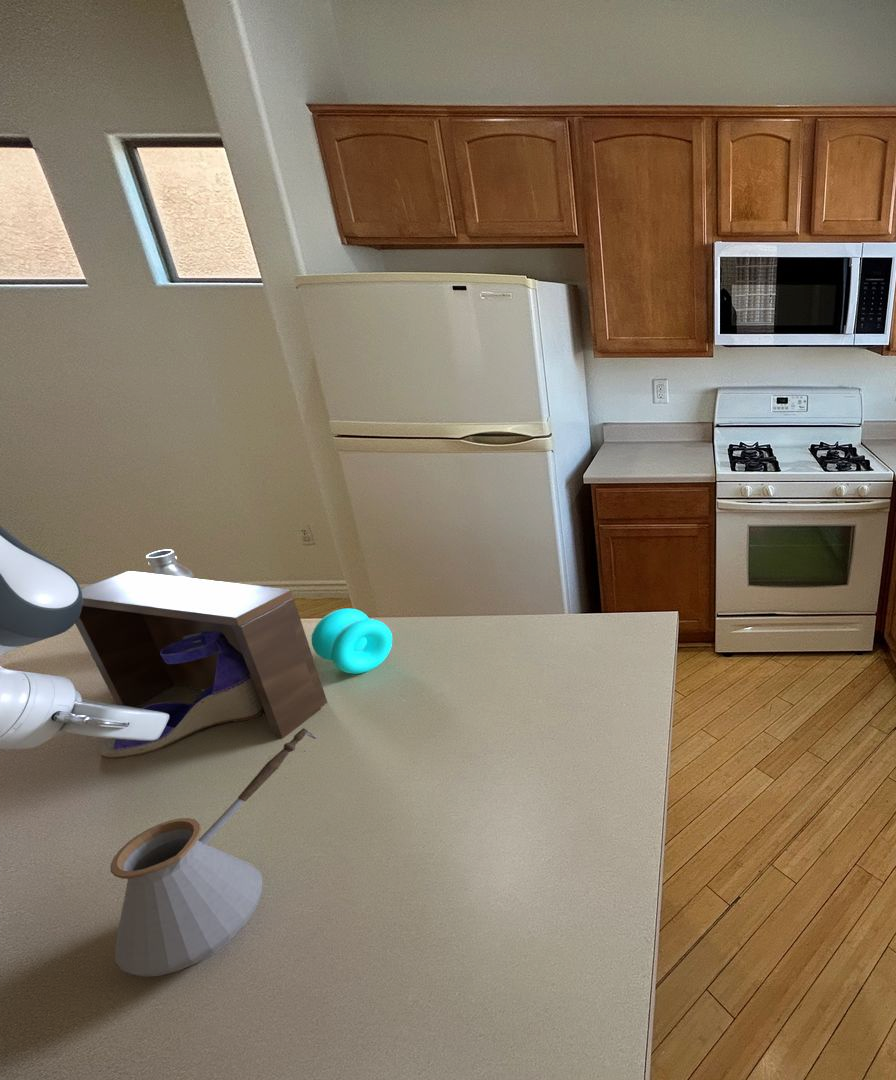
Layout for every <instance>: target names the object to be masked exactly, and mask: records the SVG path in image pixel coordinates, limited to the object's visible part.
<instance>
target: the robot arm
mask: <svg viewBox="0 0 896 1080" xmlns="http://www.w3.org/2000/svg"><path fill="white" fill-rule="evenodd" d="M81 589H82V587H81V585H80V584H79V582H78V580H77V579H76V578H75V577H74V576H73V575H72V574H71V573H70V572H69V571H67V570H66V569H64V568H63V567H62V566H60V565H58V564H57V563H55V562H53V561H52V560H50V559H49V558H46V557H45V556H44V555H41V554H40V553H38V552H36V551H34V550H33V549H32V548H30V547H28V546H27V545H26V544H25V543H23V542H21V540H19V539H18V538H16V537H15V536H14V535H13V534H11V533H10V532H9V531H8V530H7V529H5V528H4V527H3V526H2V525H0V659H1V657H2V656H3V655H5V654H8V653H10V652H12V651H15V650H17V649H19V648H22V647H25V646H28V645H31V644H35V643H38V642H41V641H43V640H47V639H50V638H53V637H56V636H58V635H62V634H63V633H65V632H67V631H68V630H70V629H71V628H72V627H73V626H74V625H76V624H75V623H76V621H77V620H78V618H79V616H80V614H81V610H82V605H83V594H82V590H81ZM168 720H169V714H167V713H163V712H158V711H152V710H147V709H142V708H140V707H129V706H123V705H117V704H116V703H111V702H106V701H105V702H104V701H99V700H94V699H87V698H83V697H82V695H81V693H80V692H79V690H77V689H76V688H75V685H74V683H73V682H72V681H71V680H70V679H68V678H67V677H65V676H59V675H53V674H52V675H51V674H44V673H38V672H31V671H30V672H29V671H23V670H22V671H21V670H15V669H8V668H4V667H2V666H1V665H0V750H29V749H34V748H36V747H39V746H41V745H43V744H44V743H46V742H47V741H50V740H52V739H54V738H57V737H59V736H60V735H62V734H64V733H70V734H75V735H81V736H86V737H93V738H101V739H106V738H111V739H125V740H140V741H153V740H157V739H158V738H159V737H160V736H161V734H162V732H163V730H164V728H165V726H166V724H167V722H168Z"/></svg>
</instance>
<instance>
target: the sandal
mask: <svg viewBox="0 0 896 1080" xmlns="http://www.w3.org/2000/svg"><path fill="white" fill-rule="evenodd" d="M204 632H205V633H204ZM204 632H201V633H196V634H192V635H188V636H184V637H183V640H181V641H178V642H176V643H173V644H171V645H168V646H167V647H165V648H164V649H162V650H161V652H160V654H161V656H162V658H163V660H164V661H165V663H167V664H176V663H184V662H188V661H193V660H197V659H200V658H204V657H206V656H209V655H212V654H214V653H216V652H218V651H219V653H218V662H217V669H216V676H215V683H214V684H213V685H212V686H210V687H209V688H208V689H207V690H203V692H202V693H200V695H199V696H198V697H197V698H196V699H195V700H194V701H193V703H185V702H184V703H183V702H157V703H151V704H147V705H145V706H143V707H142V708H141V709H147V710H152V711H158V712H163V713H167V714H169V720H168V722H167V724H166V726H165V728H164V730H163V732H162V734H161V736H160V737H159V738H158V739H157V740H153V741H140V740H125V739H111V738H103V740H102V741H100V743H99V744H98V746H97V751H98V753H99V755H101V756H102V757H103V758H107V759H119V758H127V757H128V758H129V757H136V756H139V755H145V754H148V753H151V752H155V751H157V750H160V749H162V748H164V747H166V746H168V745H171V744H173V743H175V742H177V741H179V740H181V739H183V738H185V737H187V736H189V735H192V734H194V733H196V732H198V731H200V730H203V729H205V728H206V729H207V728H209V727H212V726H216V725H220V724H224V723H229V722H234V723H238V722H243V721H247V720H248V721H249V720H252V719H255V718H258V717H260V716H261V715H262V714H263V712H264V709H263V706H262V704H261V701H260V698H259V696H258V693H257V691H256V688H255V685H254V683H253V680H252V678H251V675H250V672H249V670H248V667H247V664H246V662H245V659H244V657H243V654H241V653H240V652H239V651H238V650H236V649H235V648H234V647H233V646H232V645H231V644H230V643H229V642H228V640H227V638H226V637H225V635H224V634H223V633H220V632H218V631H211V632H207V631H204ZM189 637H190V638H189ZM199 639H200V640H199ZM208 644H209V645H208ZM199 645H203V646H199ZM196 646H199V647H196ZM177 647H178V648H177ZM193 647H195V648H193ZM190 648H191V649H190ZM184 650H187V651H186V652H182V651H184ZM179 652H181V653H179Z"/></svg>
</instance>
